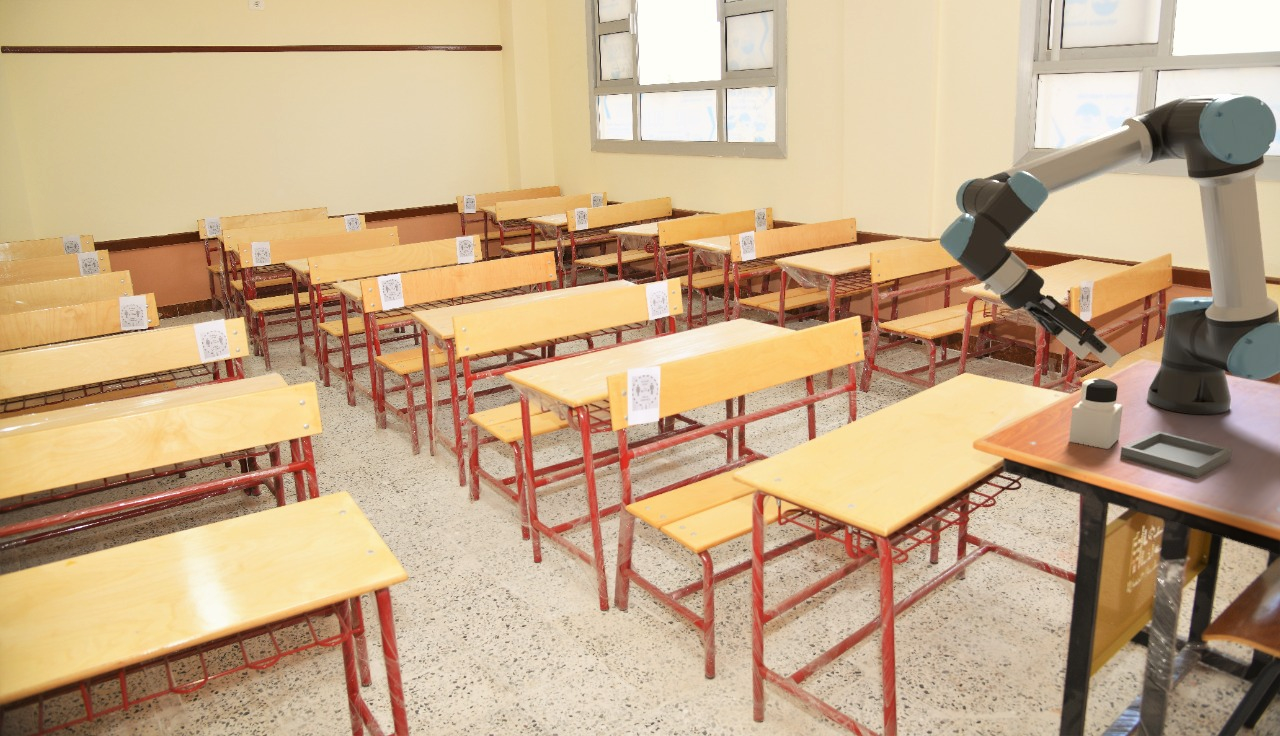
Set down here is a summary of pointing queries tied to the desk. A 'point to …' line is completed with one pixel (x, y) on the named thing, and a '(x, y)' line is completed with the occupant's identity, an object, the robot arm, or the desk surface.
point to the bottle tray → (1176, 454)
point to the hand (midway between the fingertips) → (1100, 358)
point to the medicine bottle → (1096, 415)
